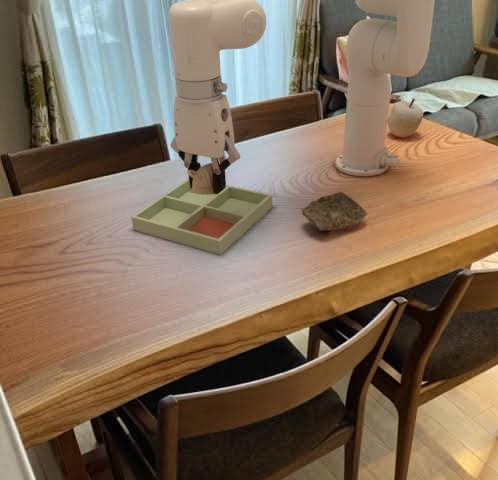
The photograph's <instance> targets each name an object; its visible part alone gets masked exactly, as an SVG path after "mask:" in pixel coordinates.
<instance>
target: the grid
mask: <svg viewBox="0 0 498 480" xmlns="http://www.w3.org/2000/svg"><path fill="white" fill-rule="evenodd" d="M190 191H191V188H190V181H189V177H187V178H186V179H184V180H183V181H182V182H180V183H179V184H178V185H176V186H174V187H173V188H172V189H170V190H168V191H167V192H166V193H164V194H163V195H161V196H159V198H157V199H155V200H154V201H152V202H150V203H149V204H148V205H147V206H145V207H143V208H142V209H141V210H139V211H138V212H136V213H134V215H132V216H130V218H131V223H132V229H133V230H134V231H137V232H140V233H144V234H146V235H150V236H153V237H157V238H161V239H163V240H164V239H165V240H166V241H167V240H168V241H170V242H171V241H172V242H174V243H179V244H181V245H184V246H188V247H192V248H195V249H199V250H201V251H202V250H203V251H206V252H209V253H213V254H217V255H222V254H223V253H224V252H226V250H228V249H229V248H230V247H231V246H232V245H233V244H234V243H235V242H236V241H237V240H238V239H240V238H241V237H242V236H243V235H244V234H245V233H246V232H247V231H249V230H250V229H251V228H252V227H253V226H254V225H255V224H256V223H257V222H258V221H260V220H261V219H262V218H263V217H264V216H265V215H266V214H267V213H269V212H270V211H271V209H273V195H272V194H270V193H265V192H260V191H257V190H252V189H248V188H243V187H238V186H234V185H229V184H226V186H225V189H224V190H223V191H221V192H220V193H219V194H211V195H202V194H196V193H190Z"/></svg>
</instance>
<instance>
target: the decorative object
mask: <svg viewBox="0 0 498 480" xmlns="http://www.w3.org/2000/svg"><path fill="white" fill-rule="evenodd" d="M415 100H416V98H415V97H413V98H412V100H411V101H407V100H400V101H397V102H395V103H394V104H392V107H391V110H390V112H389V114H388V119H387V126H388V129H389V131H390V133H391V134H392V135H394V136H395V137H398V138H407V137H410V136H411V135H413V134H414V133H416V131H417V130H418V129H419V127H420V125H421V123H422V121H423V118H424V111H423V110H422V108H421V107H420V106H419V105H417V104H416V103H414V102H415Z"/></svg>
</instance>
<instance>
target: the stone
mask: <svg viewBox="0 0 498 480" xmlns="http://www.w3.org/2000/svg"><path fill="white" fill-rule="evenodd" d="M300 212H301V213H302V216H303V217H304V218H306V219H307V220H308V221H309V223H311V225H312V226H314V227H315V228H317V229H318V230H319V231H320V232H322V231H331V232H341V231H347V230H349V229H352V228H354V227H356V226H357V225H358V224H360V222H362V221H363V220H364V219H365V218H366V216H367V214H368V213H367V211H366V210H365V208H364V207H363V206H361V204H359V202H357V201H355V200H354V199H353V198H352V197H350V196H348V194H346V193H344V192H343V191H338V192H335V193H331V194H329V195H324V196H321V197H320V198H317V199H316V200H313V201H310V202H309V204H308V205H306V206H304V207H302V208H301V211H300Z"/></svg>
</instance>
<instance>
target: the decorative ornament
mask: <svg viewBox="0 0 498 480" xmlns="http://www.w3.org/2000/svg"><path fill="white" fill-rule="evenodd" d="M186 173H187V175H189V176H191V177H192V178H193V182H192V189H191V191H190V193H196V194H202V195H211V194H214V193H213V182H212V174H213V173H215V172H214V168H213V165H212V162H209V163H206V164H204V165H201V168H199V169H198V170H197V172H196V171H194V170H188V169H187V171H186ZM191 173H193V174H195V175H193V174H191ZM189 176H188V177H189Z"/></svg>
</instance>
